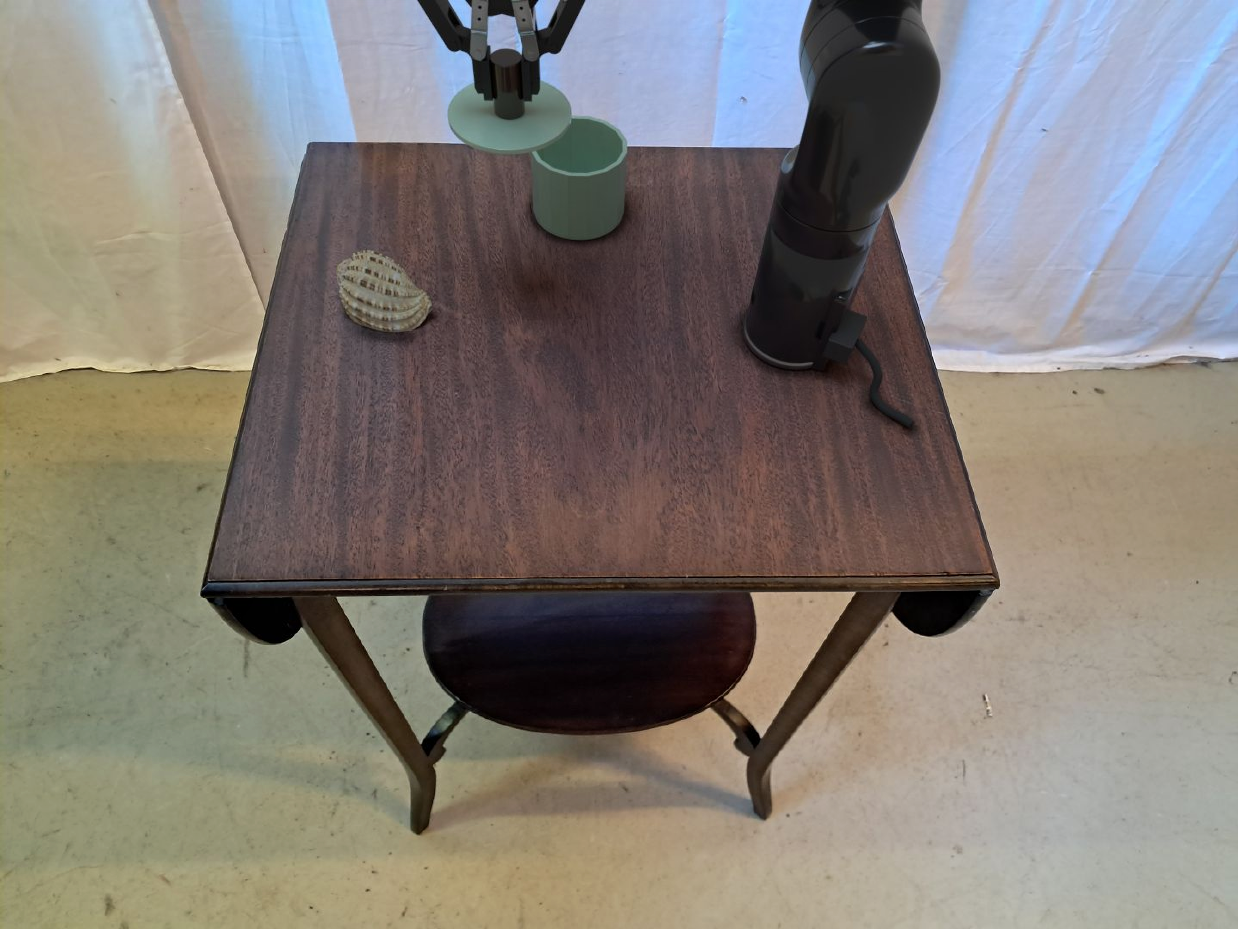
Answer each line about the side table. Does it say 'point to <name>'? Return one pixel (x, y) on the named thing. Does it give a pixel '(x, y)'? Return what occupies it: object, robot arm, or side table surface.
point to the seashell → (381, 293)
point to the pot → (581, 180)
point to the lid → (509, 112)
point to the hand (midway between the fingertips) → (509, 94)
